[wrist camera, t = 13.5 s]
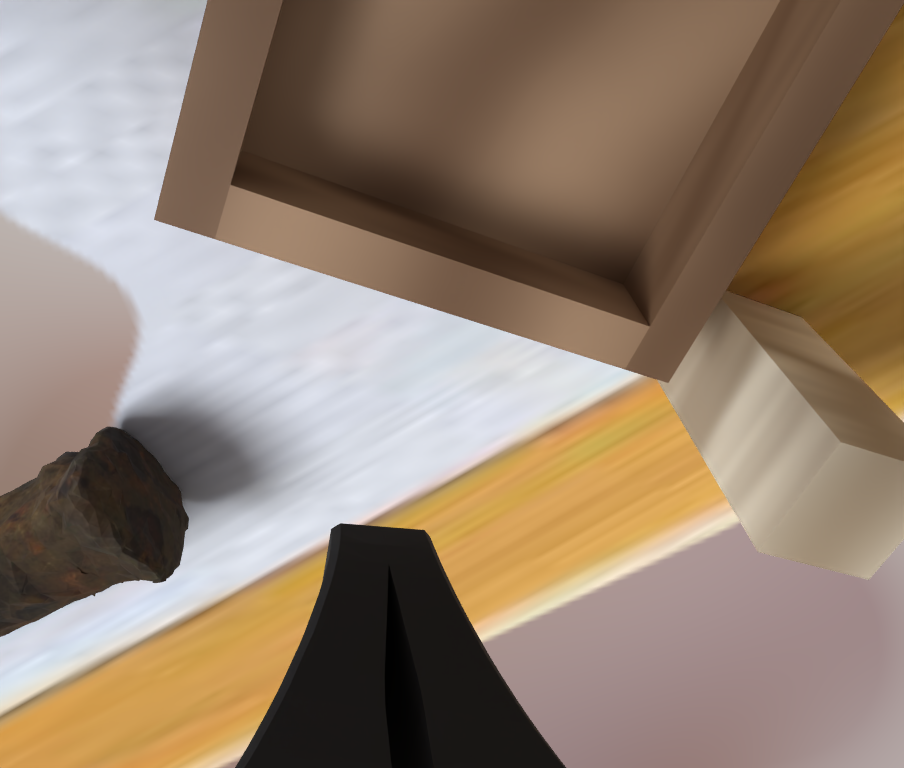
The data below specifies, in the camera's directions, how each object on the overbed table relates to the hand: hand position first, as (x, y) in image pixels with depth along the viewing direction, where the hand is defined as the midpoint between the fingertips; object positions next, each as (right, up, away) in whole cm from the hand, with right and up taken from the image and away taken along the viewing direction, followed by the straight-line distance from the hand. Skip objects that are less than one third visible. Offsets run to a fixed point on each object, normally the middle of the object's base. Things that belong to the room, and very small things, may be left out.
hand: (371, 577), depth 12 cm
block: (+9, +4, +11) cm, 15 cm away
